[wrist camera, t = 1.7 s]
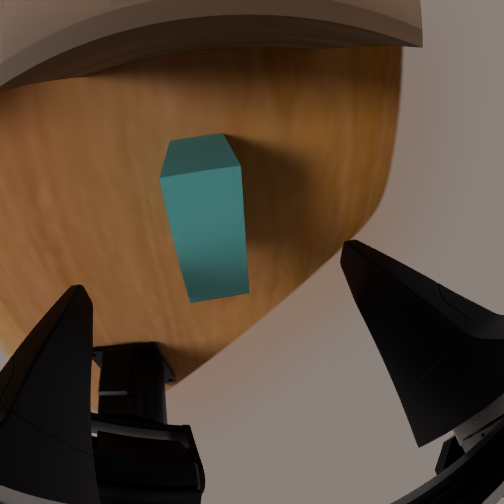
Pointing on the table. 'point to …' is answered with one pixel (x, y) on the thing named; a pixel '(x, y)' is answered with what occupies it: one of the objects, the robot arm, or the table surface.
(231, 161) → the teal block
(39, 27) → the wooden box
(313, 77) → the table surface
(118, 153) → the table surface
